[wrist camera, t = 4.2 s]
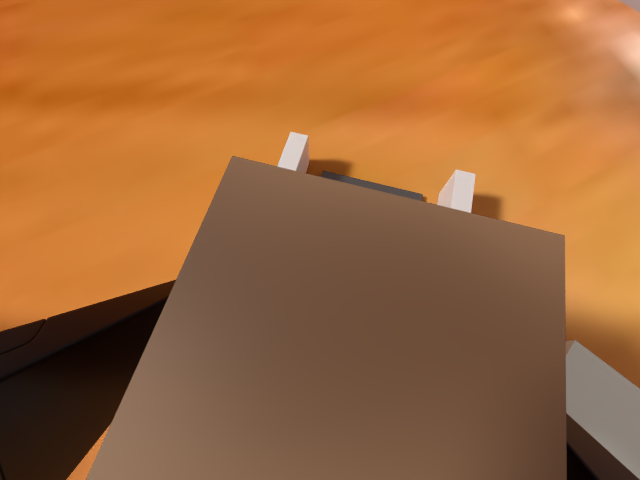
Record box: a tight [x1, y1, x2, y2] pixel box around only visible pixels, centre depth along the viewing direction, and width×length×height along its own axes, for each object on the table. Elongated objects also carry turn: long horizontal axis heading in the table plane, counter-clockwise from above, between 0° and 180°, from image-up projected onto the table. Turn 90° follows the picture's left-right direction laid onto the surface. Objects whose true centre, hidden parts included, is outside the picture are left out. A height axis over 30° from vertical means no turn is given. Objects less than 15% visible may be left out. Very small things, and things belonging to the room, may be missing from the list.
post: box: [86, 156, 567, 480], centre depth 10 cm, size 5×5×12 cm
